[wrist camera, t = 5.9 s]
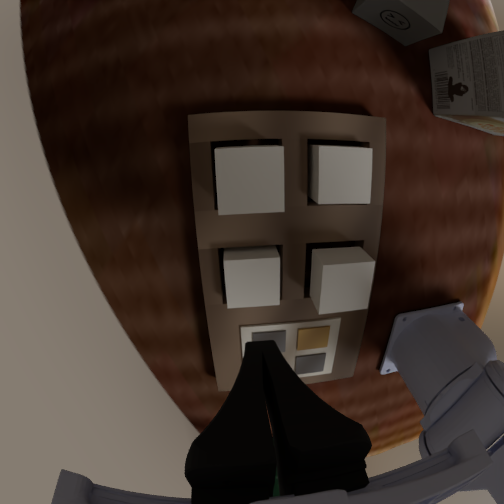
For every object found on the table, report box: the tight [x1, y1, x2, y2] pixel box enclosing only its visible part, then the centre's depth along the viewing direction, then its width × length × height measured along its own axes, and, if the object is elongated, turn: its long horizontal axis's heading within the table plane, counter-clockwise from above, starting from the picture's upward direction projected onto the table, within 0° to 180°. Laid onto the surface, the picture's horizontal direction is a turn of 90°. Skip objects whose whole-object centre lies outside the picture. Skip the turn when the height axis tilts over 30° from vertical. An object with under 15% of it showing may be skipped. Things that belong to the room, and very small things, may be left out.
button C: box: [308, 144, 372, 204], centre depth 18 cm, size 4×4×3 cm
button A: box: [310, 247, 375, 314], centre depth 19 cm, size 4×4×3 cm
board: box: [188, 111, 386, 391], centre depth 21 cm, size 13×23×2 cm, turn 2°
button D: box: [214, 145, 284, 215], centre depth 16 cm, size 4×4×3 cm
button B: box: [223, 245, 280, 308], centre depth 20 cm, size 4×4×3 cm
